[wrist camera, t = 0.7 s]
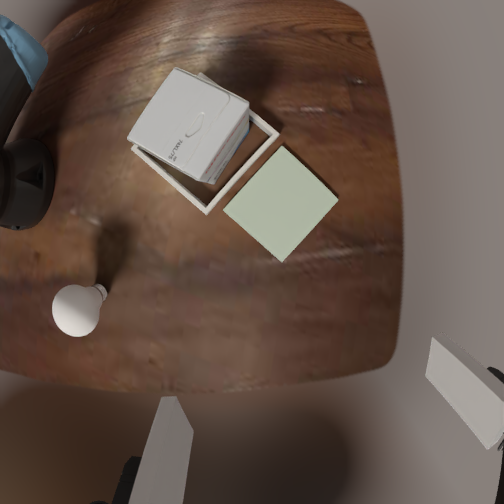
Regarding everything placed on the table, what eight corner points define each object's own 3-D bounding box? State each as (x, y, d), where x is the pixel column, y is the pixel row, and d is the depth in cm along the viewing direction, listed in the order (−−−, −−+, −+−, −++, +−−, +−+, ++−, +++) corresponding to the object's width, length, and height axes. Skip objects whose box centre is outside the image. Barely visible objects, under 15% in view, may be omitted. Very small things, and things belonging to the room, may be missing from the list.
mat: (223, 209, 35) (222, 210, 34) (281, 146, 33) (282, 145, 32) (281, 261, 36) (281, 262, 35) (337, 199, 35) (338, 199, 34)
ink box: (195, 100, 31) (175, 63, 20) (250, 131, 33) (253, 102, 21) (160, 154, 33) (123, 138, 21) (214, 186, 34) (198, 183, 23)
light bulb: (128, 291, 36) (92, 324, 26) (107, 319, 37) (72, 355, 27) (96, 260, 35) (52, 283, 25) (77, 290, 36) (37, 318, 26)
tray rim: (136, 150, 32) (130, 148, 31) (202, 78, 31) (200, 72, 29) (208, 213, 35) (206, 214, 33) (277, 137, 33) (279, 134, 31)
